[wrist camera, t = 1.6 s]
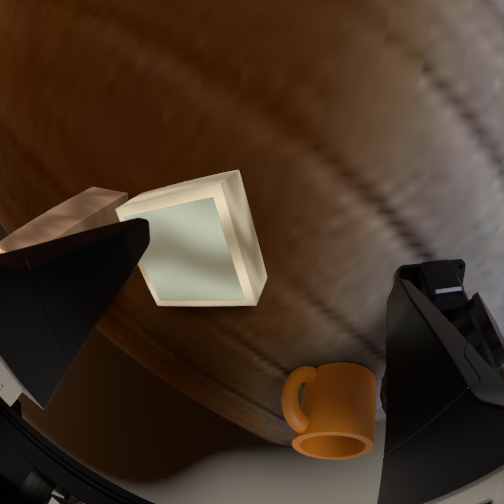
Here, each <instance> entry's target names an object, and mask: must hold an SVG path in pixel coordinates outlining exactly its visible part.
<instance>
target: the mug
mask: <svg viewBox="0 0 504 504" xmlns="http://www.w3.org/2000/svg"><path fill="white" fill-rule="evenodd" d="M303 383H305V387H304V392H303V397H302V402H301V407H300V405H299V401H298V392H299V388H300V386H301V385H302V384H303ZM281 405H282V411H283V414H284V417H285V419H286V421H287V423H288V424H289V425H290V427H291V428H292V429H294V430H295V433H294V437H293V441H292V446H293V447H294V449H295V450H297V451H298V452H300V453H302V454H305V455H307V456H311V457H315V458H320V459H330V460H339V459H350V458H355V457H359V456H362V455H364V454H366V453H368V452H370V451H371V450H372V449H373V447H374V433H375V411H376V377H375V376H374V374H373V372H372V371H370V370H369V369H367V368H366V367H364V366H361V365H358V364H355V363H347V362H338V363H329V364H325V365H322V366H319V367H317V368H314V367H312V366H302V367H298V368H297V369H295V370H294V371H292V372H291V374H290V375H289V376H288V377H287V379H286V381H285V383H284V385H283V390H282V395H281Z"/></svg>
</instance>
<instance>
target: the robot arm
mask: <svg viewBox="0 0 504 504" xmlns="http://www.w3.org/2000/svg"><path fill="white" fill-rule="evenodd" d="M149 244H150V228H149V221H148V220H147V219H143V218H134V219H130V220H126V221H122V222H117V223H113V224H109V225H105V226H102V227H98V228H94V229H90V230H86V231H83V232H79V233H75V234H72V235H68V236H64V237H61V238H59V239H58V238H57V239H54V240H50V241H47V242H43V243H40V244H36V245H32V246H28V247H25V248H21V249H17V250H13V251H9V252H5V253H1V254H0V504H154V503H152V502H150V501H148V500H145V499H143V498H141V497H139V496H137V495H135V494H133V493H131V492H129V491H127V490H125V489H123V488H121V487H119V486H117V485H115V484H114V483H112V482H110V481H108V480H106V479H105V478H103V477H101V476H100V475H98V474H96V473H95V472H93V471H91V470H90V469H88V468H87V467H85V466H83V465H82V464H81V463H79V462H78V461H76V460H75V459H73V458H72V457H70V456H69V455H67V454H66V453H65V452H63V451H62V450H61V449H59V448H58V447H57V446H55V445H54V444H53V443H51V442H50V441H49V440H48V439H46V438H45V437H44V436H43V435H41V434H40V433H39V432H38V431H37V430H35V429H34V428H33V427H32V426H31V425H30V424H29V423H27V422H26V421H25V420H24V419H23V418H22V413H21V403H20V402H19V401H18V400H17V398H18V396H19V395H20V394H21V392H24V393H25V394H26V395H27V396H28V397H29V398H30V399H31V400H33V401H34V402H35V403H36V404H37V405H39V406H40V407H41V408H42V409H44V410H45V408H46V407H47V405H48V404H49V402H50V400H51V398H52V396H53V394H54V393H55V391H56V389H57V387H58V386H59V384H60V382H61V380H62V379H63V377H64V375H65V374H66V372H67V370H68V369H69V367H70V365H71V364H72V363H71V362H73V360H74V359H75V357H76V355H77V354H78V352H79V350H80V349H81V347H82V346H83V344H84V342H85V341H86V339H87V338H88V336H89V335H90V333H91V332H92V330H93V329H94V327H95V326H96V324H97V323H98V321H99V320H100V318H101V317H102V315H103V314H104V312H105V311H106V309H107V308H108V307H109V305H110V304H111V302H112V301H113V299H114V298H115V297H116V295H117V294H118V292H119V291H120V290H121V288H122V287H123V285H124V284H125V283H126V281H127V280H128V279H129V277H130V276H131V274H132V273H133V271H134V269H135V268H136V266H137V264H138V263H139V261H140V259H141V258H142V256H143V254H144V253H145V251H146V249H147V248H148V246H149ZM460 264H461V266H459V265H460ZM458 266H459V267H458ZM404 270H407V271H406V272H405V273H402V272H403V271H404ZM464 272H465V262H464V261H463V260H462V259H457V260H440V261H431V262H423V263H421V264H411V265H403V266H401V267H400V268H399V273H398V280H397V281H396V283H395V285H394V287H393V289H392V291H391V293H390V295H389V297H388V301H387V320H386V370H385V374H384V377H382V381H381V383H382V385H381V391H380V399H381V402H382V408H383V410H384V412H385V414H386V433H385V446H384V458H383V466H382V475H381V483H380V489H379V496H378V503H377V504H504V338H503V336H502V334H501V332H500V330H499V328H498V325H497V323H496V322H495V320H494V318H493V316H492V315H491V313H490V311H489V310H488V308H487V306H486V305H485V303H484V301H483V300H482V298H481V297H480V295H479V293H478V292H477V293H475V294H474V295H473V296H472V297H473V298H472V299H470V300H469V299H468V297H467V295H466V293H465V291H464V287H463V285H462V284H463V278H464ZM52 491H55V492H57V493H59V494H61V495H63V496H64V499H63V498H61V497H58V496H56V495H53V494H51V493H52Z"/></svg>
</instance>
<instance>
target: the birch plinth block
mask: <svg viewBox="0 0 504 504" xmlns="http://www.w3.org/2000/svg"><path fill="white" fill-rule="evenodd" d="M115 210H116V212H117V215H118V217H119V220H120V222H122V221H126V220H130V219H134V218H143V219H147V220H148V221H149V228H150V244H149V246H148V248H147V249H146V251H145V253H144V254H143V256H142V258H141V259H140V261H139V263H138V265H139V267H140V270H141V272H142V274H143V276H144V278H145V281H146V283H147V285H148V287H149V289H150V291H151V293H152V295H153V297H154V299H155V301H156V303H157V305H158V306H252V305H257V303H258V300H259V298H260V295H261V292H262V290H263V287H264V285H265V282H266V280H267V274H266V270H265V267H264V263H263V259H262V255H261V251H260V247H259V243H258V240H257V236H256V232H255V228H254V224H253V220H252V217H251V213H250V209H249V205H248V201H247V198H246V194H245V190H244V186H243V183H242V179H241V175H240V171H239V170H234V171H230V172H225V173H220V174H216V175H211V176H207V177H203V178H198V179H194V180H190V181H186V182H182V183H178V184H174V185H170V186H166V187H163V188H159V189H155V190H151V191H148V192H144V193H141V194H139V195H138V196H136V197H134V198H133V199H131V200H129V201H128V202H126V203H124V204H123V205H121V206H119V207H118V208H116V209H115Z"/></svg>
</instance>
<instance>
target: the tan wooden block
mask: <svg viewBox="0 0 504 504" xmlns="http://www.w3.org/2000/svg"><path fill="white" fill-rule="evenodd" d="M126 202H128V193H124V192H118V191H113V190H108V189H103V188H97V187H92V188H90V189H88V190H86V191H84V192H82V193H80V194H78V195H76V196H74V197H72V198H70V199H69V200H67V201H65V202H63V203H61V204H60V205H58V206H56V207H54V208H52V209H51V210H49V211H47V212H46V213H44V214H42V215H40V216H39V217H37V218H35V219H34V220H32V221H31V222H29V223H27V224H26V225H24V226H23V227H21V228H19V229H18V230H16V231H15V232H13V233H12V234H10V235H9V236H7V237H6V238H4V239H3V240H1V241H0V254H1V253H5V252H9V251H13V250H17V249H21V248H25V247H28V246H32V245H36V244H40V243H43V242H47V241H50V240H54V239H57V238H58V239H59V238H61V237H64V236H68V235H72V234H75V233H79V232H83V231H86V230H90V229H94V228H98V227H102V226H105V225H109V224H113V223H117V222H120V220H119V217H118V215H117V212H116V210H115V209H116V208H118V207H119V206H121V205H123V204H124V203H126Z"/></svg>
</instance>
